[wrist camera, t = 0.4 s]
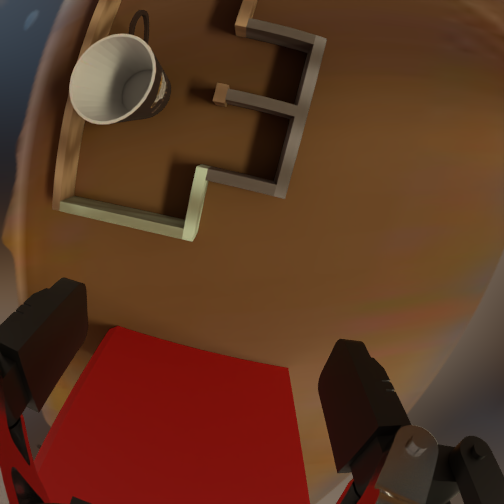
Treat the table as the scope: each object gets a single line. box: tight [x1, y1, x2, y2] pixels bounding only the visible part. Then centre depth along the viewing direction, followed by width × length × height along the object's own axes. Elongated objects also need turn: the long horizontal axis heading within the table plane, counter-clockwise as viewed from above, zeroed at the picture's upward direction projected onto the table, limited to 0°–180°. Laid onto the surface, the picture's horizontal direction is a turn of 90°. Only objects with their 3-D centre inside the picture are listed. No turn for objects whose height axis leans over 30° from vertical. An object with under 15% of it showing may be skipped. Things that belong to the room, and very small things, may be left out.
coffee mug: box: [69, 10, 171, 124], centre depth 25 cm, size 12×9×10 cm
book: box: [34, 326, 310, 504], centre depth 28 cm, size 27×8×32 cm, turn 74°
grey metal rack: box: [52, 0, 327, 242], centre depth 29 cm, size 30×27×4 cm
